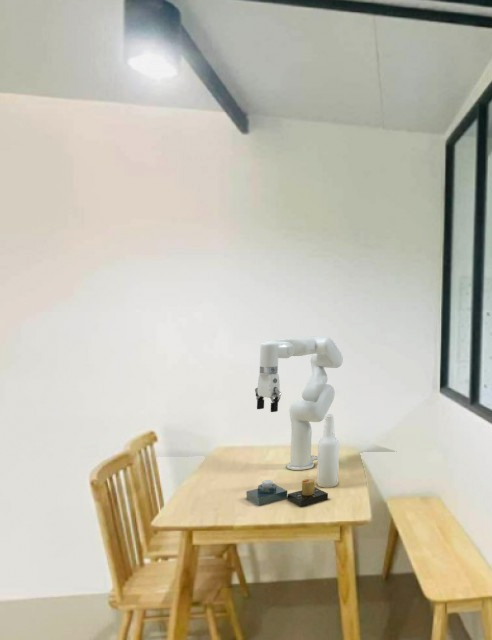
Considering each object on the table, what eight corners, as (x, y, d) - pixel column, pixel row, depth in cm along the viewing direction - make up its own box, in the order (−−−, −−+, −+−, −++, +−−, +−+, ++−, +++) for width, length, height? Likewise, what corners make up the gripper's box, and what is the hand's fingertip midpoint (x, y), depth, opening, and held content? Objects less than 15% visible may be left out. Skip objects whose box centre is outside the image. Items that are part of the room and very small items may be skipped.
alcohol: (337, 487, 213) (339, 416, 213) (316, 488, 212) (318, 417, 212) (338, 480, 222) (340, 412, 222) (317, 481, 220) (319, 413, 221)
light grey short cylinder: (269, 484, 201) (269, 479, 201) (274, 487, 199) (274, 481, 199) (260, 486, 199) (260, 481, 199) (264, 489, 196) (265, 484, 196)
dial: (309, 490, 202) (310, 477, 202) (316, 493, 198) (316, 480, 198) (299, 493, 198) (299, 479, 198) (305, 496, 195) (306, 482, 195)
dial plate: (313, 493, 206) (314, 486, 206) (327, 499, 199) (328, 492, 199) (287, 500, 197) (287, 493, 197) (301, 507, 190) (301, 500, 190)
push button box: (274, 491, 206) (274, 479, 206) (287, 498, 199) (287, 485, 200) (246, 498, 198) (246, 486, 198) (258, 506, 191) (258, 492, 191)
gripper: (288, 371, 215) (286, 411, 215) (264, 368, 226) (262, 406, 225) (273, 372, 209) (271, 414, 209) (249, 369, 220) (247, 408, 219)
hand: (267, 410), depth 217 cm, fingers open, 9 cm apart
